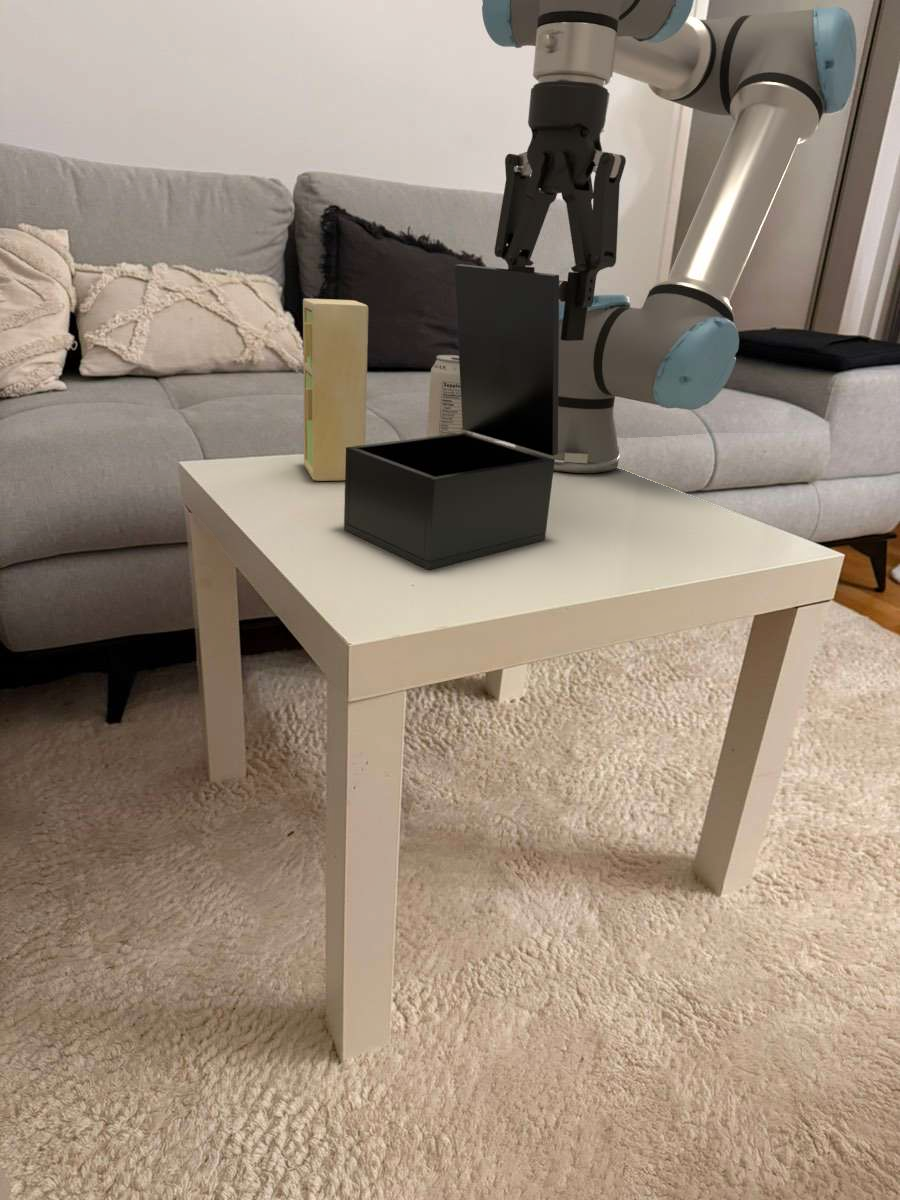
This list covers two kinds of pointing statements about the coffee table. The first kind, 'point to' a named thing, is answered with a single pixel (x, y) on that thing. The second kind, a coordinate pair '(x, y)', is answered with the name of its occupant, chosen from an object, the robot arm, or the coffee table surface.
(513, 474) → the black box
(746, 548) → the coffee table surface
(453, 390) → the energy drink can
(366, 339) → the toy refrigerator
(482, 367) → the box lid
